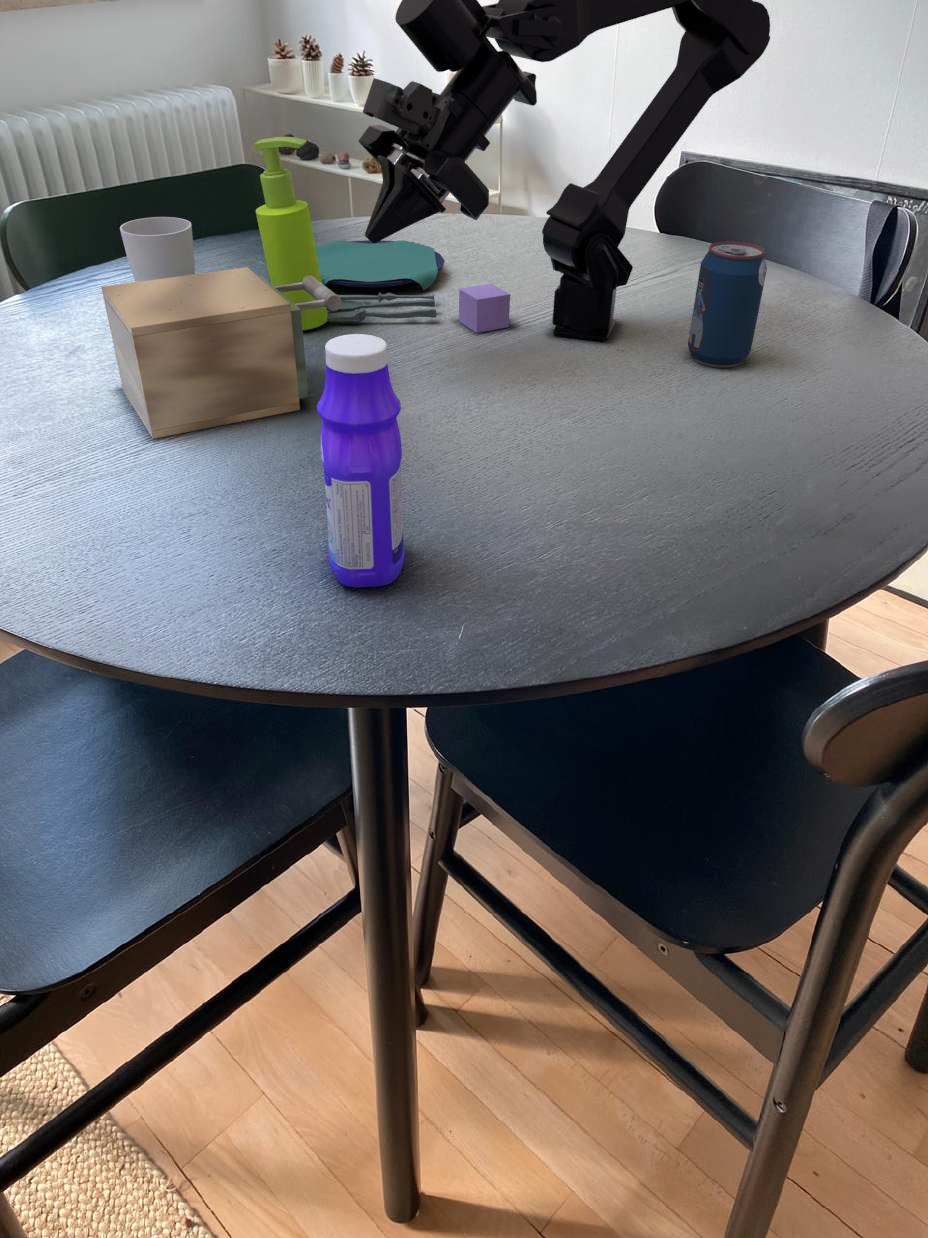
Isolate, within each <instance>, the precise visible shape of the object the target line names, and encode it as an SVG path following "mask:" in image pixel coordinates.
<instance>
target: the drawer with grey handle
mask: <svg viewBox="0 0 928 1238" xmlns="http://www.w3.org/2000/svg"><path fill="white" fill-rule="evenodd" d="M258 277H259V278H261V279H262V280H263V281H264V282H265V283H266V284H267V285H269V286H270V287H271V288H272V289H273V290H274V291H276V292H277V293H278V294H279V295H280V296H281V297H283V298H284V299H285V300H286V301H287V302H288V303H290V309H291V319H292V330H293V340H294V351H295V362H296V372H297V383H298V393H299V400H300V399H304V398H309V387H308V376H307V375H308V373H307V365H306V364H307V363H306V353H305V341H304V340H305V339H304V330H303V329H302V317H301V311H302V310H308V309H315V308H321V307H326V308H327V309H329V310H330V311H329V310H328V311H329V312H332V311H337V310H338V309H339V308H340V307H341V299H340V297H339V296H337V295H338V294H336V293H335V292H333V291H332V290H331V289H329V287H327V286H326V285H325V286H324V285H323V284H322V283H320V282H319V281H318V280H317V279H315V278H314V277H313V276H306V277H304V278H303V280H302V282H299V283H292V284H285V285H278V286H273V285H271V282H269V281H268V280H267V279H266V278H264V277H263V276H262V275H260V276H258ZM303 289H304V290H305V291H306V292H308V293H309V294H310V295H311V296H312V297H314V298H315V299H316V301H309V302H303V303H296V304H294V303H292V302H291V301H290V300H289V299H288V298H287V297H285V296H284V295H283V294H282V292H289V291H296V290H303Z"/></svg>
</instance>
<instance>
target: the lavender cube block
mask: <svg viewBox="0 0 928 1238" xmlns="http://www.w3.org/2000/svg"><path fill="white" fill-rule="evenodd" d="M510 307H511V293H509V292H507V291H505V290H504V289H502V288H500V287H498V286H496V285H495V284H493V283H487V284H480V285H473V286H467V287H466V286H465V287H461V288H458V322H459V323H461V324H462V325H464V326H465V327H466V328H468V329H470V330H471V331H473V332H474V333H475V334H479V333H483V332H485V333H486V332H489V331H494V330H501V329H506V328H509V327H510V310H511V309H510Z"/></svg>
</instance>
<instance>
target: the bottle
mask: <svg viewBox="0 0 928 1238" xmlns="http://www.w3.org/2000/svg"><path fill="white" fill-rule="evenodd" d="M324 350H325V352H324V353H325V383H324V389H323V392H322V394H321V397H320V399H319V400H318V403H317V406H316V411H317V414H318V416H319V417H320V419H321V420H322V423H321V429H320V430H321V431H320V443H319V444H320V458H321V462H322V466H323V477H324V488H325V503H326V519H327V521H326V522H327V535H328V538H327V539H328V548H327V556H328V557H327V558H328V563H329V566H330V569H331V572H332V573H333V576H334V577H335V579H336V580H337V582H339V583H340V584H341V585H343V586H346V587H351V588H375V587H384V586H387V585H390V584H392V583H393V582H395V580H396V579H398V577H399V575H400V574H401V572H402V568H403V565H404V561H405V541H404V523H403V519H404V518H403V494H402V493H403V492H402V457H403V450H402V449H403V448H402V447H403V446H402V438H401V431H400V427H399V423H398V419H397V418H398V416H399V414H400V412H401V410H402V404H401V400H400V398H398V396H397V394H396V393H395V391H394V388H393V386H392V383H391V382H392V381H391V377H390V371H389V359H388V344H387V342H386V341H385V340H384V339H383V338H381V337H378V336H375V335H371V334H364V333H351V334H343V335H338V336H336V337H333V338H331V339H329V340H328V341H327V342H326V343H325V346H324Z"/></svg>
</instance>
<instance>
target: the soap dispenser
mask: <svg viewBox="0 0 928 1238" xmlns="http://www.w3.org/2000/svg"><path fill="white" fill-rule="evenodd" d="M307 142H308V140H307V139H303V138H299V137H293V136H275V137H270V138H263V139H259V140H258V141H256V142H254V143H253V147H254V150H255V151H257V150H262V154H263V159H264V164H265V170H264V171H263V173H261V174H260V175H259V179H260V184H261V188H262V194H263V198H264V203H265V204H263V205H261V206H259V207H257V208H256V209H255V215H256V221H257V223H258V224H257V226H258V229H259V234H260V239H261V244H262V249H263V254H264V257H265V262H266V267H267V273H268V277H269V281H270V282H269V283H270V284H271V285H273V286H278V285H285V284H292V283H299V282H302V280H303V278H304V277H306V276H313V277H314V278H315V279H317V280H318V281H319V282H320V283H322V280H321V274H320V269H319V263H318V257H317V252H316V246H317V245H316V241H315V236H314V235H315V234H314V230H313V224H312V219H311V214H310V208H309V203H308V202H307V201H305V200H301V199H296V194H295V193H296V192H295V189H294V183H293V176H292V172H291V170H289V169H287V168H285V167H282V161H281V156H280V150H279V148H292V149H293V148H294V149H297V150H299V149H300V148H302V147H303V146H305V144H306V143H307ZM282 294H283V295H284V296H285V297H287V298H288V299H289V300H290V301H291V302H292V303H294V304H296V303H303V302H309V301H316V299H315V298H314V297H312V296H311V295H310V294H309V293H308V292H306V291H305V290H304V289H303V290H296V291H289V292H282ZM328 314H329V312H328V310H327V308H326V307H321V308H315V309H308V310H302V311H301V317H302V329H303V331H308V330H313V329H315V328H318V327H321V326H323V325H324V324H326V323H327V322H328V320H327V317H328Z"/></svg>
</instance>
